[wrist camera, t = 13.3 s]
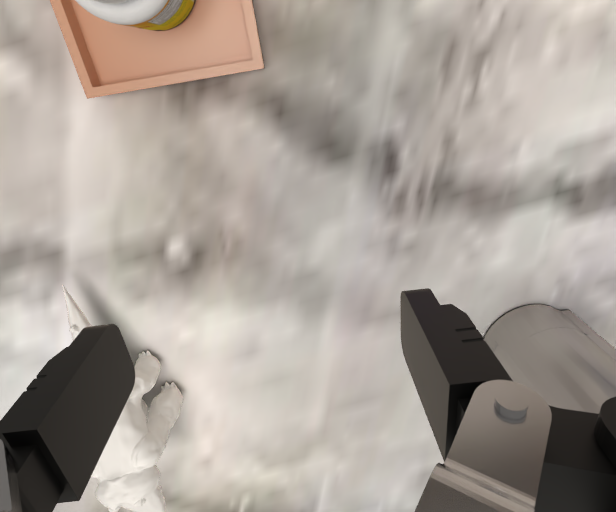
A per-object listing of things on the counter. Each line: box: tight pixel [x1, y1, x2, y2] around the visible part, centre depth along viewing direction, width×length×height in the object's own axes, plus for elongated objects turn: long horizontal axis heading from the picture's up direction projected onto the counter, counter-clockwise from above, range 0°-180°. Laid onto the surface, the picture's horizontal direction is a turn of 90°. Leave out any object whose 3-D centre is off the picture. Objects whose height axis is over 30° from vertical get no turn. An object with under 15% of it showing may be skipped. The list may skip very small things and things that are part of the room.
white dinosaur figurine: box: [62, 284, 183, 512], centre depth 35 cm, size 7×24×11 cm, turn 14°
